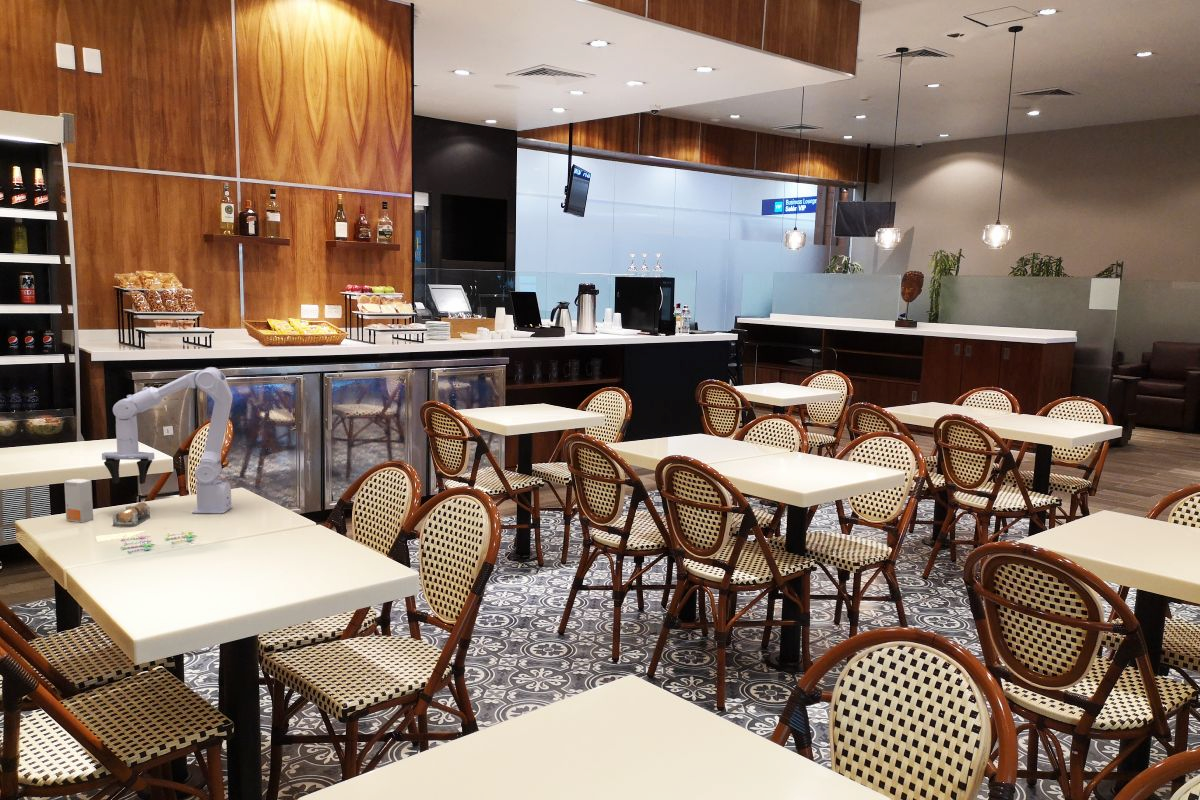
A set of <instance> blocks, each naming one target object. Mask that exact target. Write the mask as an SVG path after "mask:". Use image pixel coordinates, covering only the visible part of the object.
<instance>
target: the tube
mask: <svg viewBox="0 0 1200 800" xmlns="http://www.w3.org/2000/svg"><path fill="white" fill-rule="evenodd" d="M145 506H148V504H147V503H146V502H142V501H141V502H138V503H136V504H134V505H133V506H132V507H131V508H129V509H127V510H126V509H125V510H124V511H122V512H120V513H119V515H118V520H119V521H120V522H121V523H127V522H129V521H130V520H131V514H132V513H137V516H139V515H141V514H144V507H145Z"/></svg>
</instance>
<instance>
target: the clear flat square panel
mask: <svg viewBox="0 0 1200 800" xmlns="http://www.w3.org/2000/svg"><path fill="white" fill-rule="evenodd" d="M146 530H147V529H146ZM146 530H139V531H138V530H137V531H127V532H120V533H113V534H112V533H110V534H103V535H95V540H96V542H97V543H99V542H105V541H112V540H111V539H114V540H117V539H119V540H120V541H121V542H122V541H124V542H123V546H120V549H122V551H123V550H126V549H133V550H127V553H132V552H136V551H138V552H139V551H145V552H147V550H148V551H150V550H151V551H152V547H153V548H154V546H155V544H153V543H152V542H151V540H149V539H148V538H149V537H151V535H150V536H148V535H149V534H147V535H141V536H137V537H131V536H133V535H136V534H139V533H141V532H144V531H146ZM189 532H190V534H188V535H187V534H185V535H183V534H181V535H182V536H174V537H170V536H168V534H169V533H168V532H166V537H165V538H164V540H166V541H169V540H174V538H177V539H180V540H175V541H171V544H175V543H177V542H183V541H184V542H186V541H187V542H191V541H195V539H194V537H195V536H193V535H194V534H193V533H194V532H193V531H189ZM184 533H188V531H185V532H184ZM125 535H126V536H125ZM123 536H125V537H123ZM180 537H181V538H182V537H184V538H185V539H181V538H180ZM189 537H191V538H189ZM146 538H147V539H146ZM139 539H141V540H140V541H138V542H137V541H136V542H135V544H139V545H135V546H134V545H132V543H134V542H129V543H127V542H126V541H129V540H139ZM143 539H146V540H143ZM141 542H142V543H141ZM145 542H147V543H145ZM190 544H195V543H194V542H191V543H190ZM127 545H131V546H127ZM126 546H127V547H126ZM147 546H149V547H147ZM138 547H140V548H138ZM141 547H143V548H141ZM134 548H137V549H134Z"/></svg>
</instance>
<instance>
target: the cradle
mask: <svg viewBox="0 0 1200 800" xmlns="http://www.w3.org/2000/svg"><path fill="white" fill-rule="evenodd" d="M131 507H133V506H132V505H127V506H125V510H127V509H129V508H131ZM150 511H151V510H150V505H147V506H145V507H144V513H143V514H141V515H139V516H137V513H132V514H131V520H130V521H129V522H127V523H121V522H120V521H119V520H118V515H119V514H120V513H119V512H113V513H112V527H137V526H138V525H140V524H141V523H143V522H145V521H147V520H148V519H150V518H151V515H150V514H151V512H150ZM146 519H147V520H146Z"/></svg>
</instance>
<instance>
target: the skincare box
mask: <svg viewBox="0 0 1200 800" xmlns="http://www.w3.org/2000/svg"><path fill="white" fill-rule="evenodd" d="M63 482H64V501H65V517H66V518H65V521H68V522H69V521H70V522H75V523H81V524H82V523H85V522H86V523H87V522H90V521H93V520H94V507H93V505H94V503H93V485H92V479H85V478H72V479H68V480H65V481H63ZM89 520H90V521H89Z"/></svg>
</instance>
